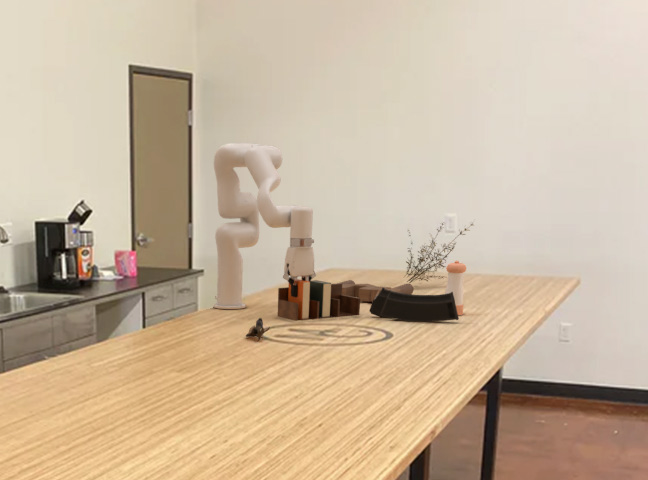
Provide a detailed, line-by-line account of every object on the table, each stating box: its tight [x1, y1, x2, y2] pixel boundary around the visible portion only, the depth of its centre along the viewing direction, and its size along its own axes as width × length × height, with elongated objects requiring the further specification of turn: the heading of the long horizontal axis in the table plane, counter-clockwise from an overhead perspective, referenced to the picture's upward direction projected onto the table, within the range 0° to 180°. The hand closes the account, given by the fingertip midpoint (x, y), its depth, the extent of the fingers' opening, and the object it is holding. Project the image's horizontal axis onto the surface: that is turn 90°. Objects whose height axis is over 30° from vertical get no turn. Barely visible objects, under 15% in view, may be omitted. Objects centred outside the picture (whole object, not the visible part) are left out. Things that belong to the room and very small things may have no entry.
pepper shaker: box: [444, 260, 467, 316], centre depth 387 cm, size 7×7×19 cm
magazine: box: [369, 288, 460, 323], centre depth 373 cm, size 17×3×30 cm
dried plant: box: [404, 220, 475, 284], centre depth 466 cm, size 30×31×45 cm
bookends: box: [336, 279, 414, 303], centre depth 432 cm, size 35×6×29 cm
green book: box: [309, 279, 332, 317], centre depth 381 cm, size 9×4×12 cm, turn 26°
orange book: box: [288, 278, 310, 319], centre depth 378 cm, size 9×3×13 cm, turn 26°
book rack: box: [277, 282, 361, 322], centre depth 382 cm, size 12×27×11 cm, turn 116°
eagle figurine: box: [245, 317, 271, 342], centre depth 341 cm, size 8×7×9 cm
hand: (298, 295), depth 377 cm, fingers closed on orange book, 3 cm apart
